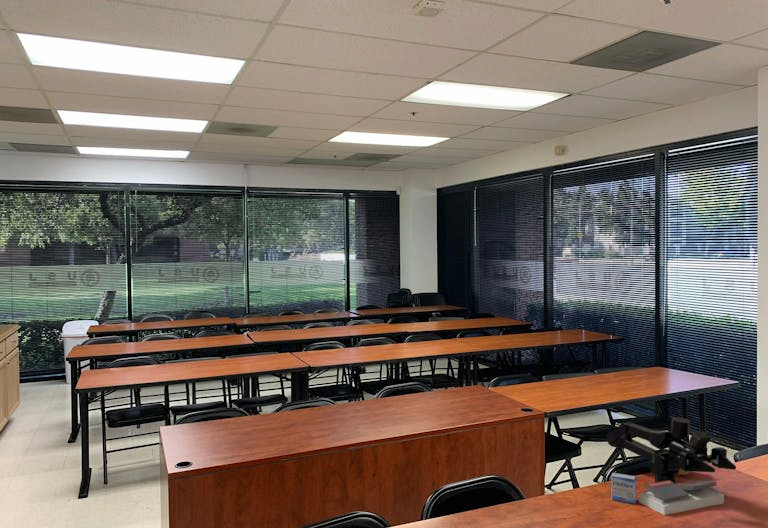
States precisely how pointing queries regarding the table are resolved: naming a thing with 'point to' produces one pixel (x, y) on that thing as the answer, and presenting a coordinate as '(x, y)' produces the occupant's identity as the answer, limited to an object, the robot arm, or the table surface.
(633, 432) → the robot arm
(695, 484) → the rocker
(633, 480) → the medicine box
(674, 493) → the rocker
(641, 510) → the table surface
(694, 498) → the light switch base
